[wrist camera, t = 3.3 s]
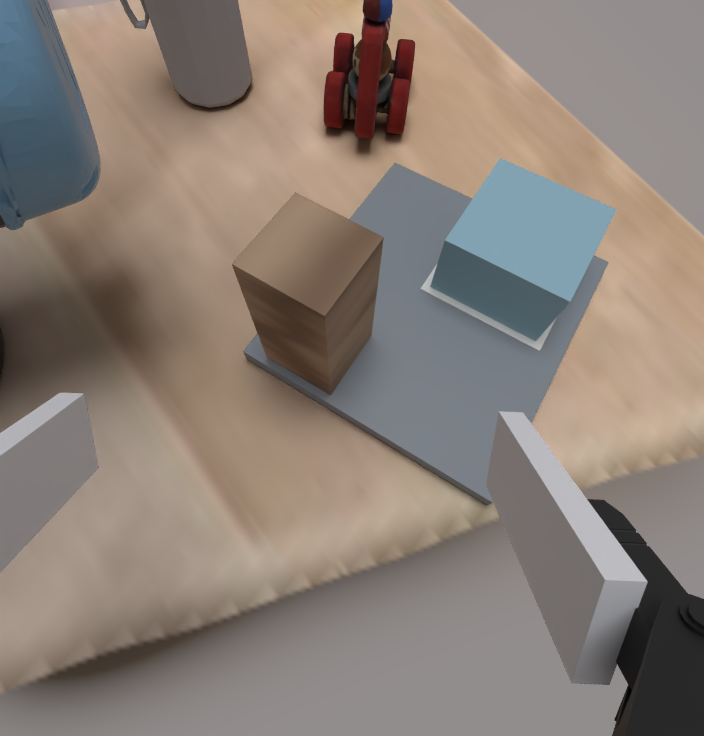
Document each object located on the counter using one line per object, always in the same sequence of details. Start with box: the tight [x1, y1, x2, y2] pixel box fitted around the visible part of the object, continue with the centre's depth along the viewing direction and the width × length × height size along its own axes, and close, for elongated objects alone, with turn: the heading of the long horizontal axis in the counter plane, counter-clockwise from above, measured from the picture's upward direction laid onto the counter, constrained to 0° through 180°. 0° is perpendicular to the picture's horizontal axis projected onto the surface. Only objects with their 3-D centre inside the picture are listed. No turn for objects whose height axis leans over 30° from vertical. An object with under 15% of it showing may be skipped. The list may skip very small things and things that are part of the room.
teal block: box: [430, 158, 617, 341], centre depth 30 cm, size 8×8×5 cm
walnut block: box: [232, 192, 384, 395], centre depth 25 cm, size 5×5×10 cm
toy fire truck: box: [324, 0, 415, 139], centre depth 36 cm, size 7×12×10 cm, turn 173°
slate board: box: [243, 163, 608, 505], centre depth 32 cm, size 18×20×1 cm
